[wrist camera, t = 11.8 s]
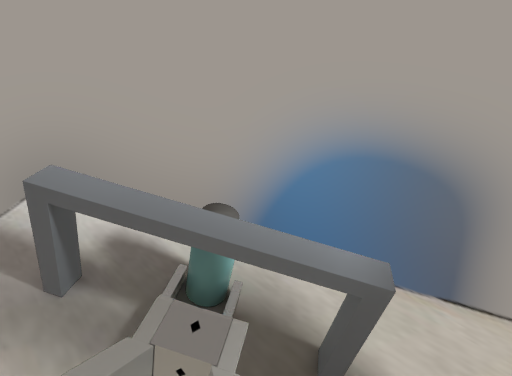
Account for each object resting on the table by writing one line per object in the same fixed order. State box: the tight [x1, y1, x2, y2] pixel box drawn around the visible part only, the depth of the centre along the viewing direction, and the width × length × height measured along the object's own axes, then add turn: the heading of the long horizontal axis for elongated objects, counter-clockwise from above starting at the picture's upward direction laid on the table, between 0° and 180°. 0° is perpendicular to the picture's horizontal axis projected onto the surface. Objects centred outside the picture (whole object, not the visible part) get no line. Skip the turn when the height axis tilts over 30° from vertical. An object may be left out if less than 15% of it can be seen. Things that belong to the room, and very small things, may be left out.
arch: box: [23, 165, 396, 376], centre depth 39 cm, size 39×4×17 cm, turn 78°
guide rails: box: [162, 264, 243, 317], centre depth 43 cm, size 10×14×2 cm
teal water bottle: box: [186, 203, 239, 307], centre depth 45 cm, size 6×6×14 cm
